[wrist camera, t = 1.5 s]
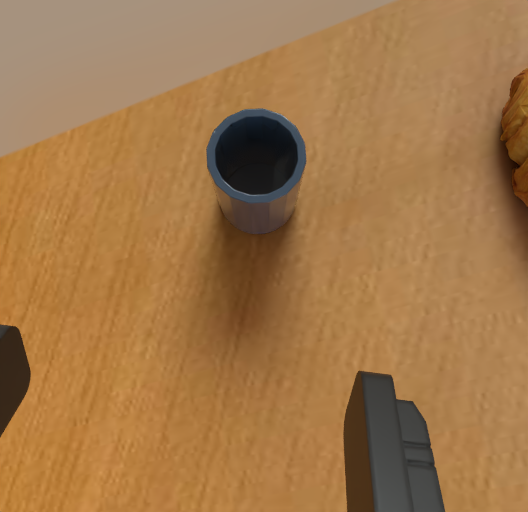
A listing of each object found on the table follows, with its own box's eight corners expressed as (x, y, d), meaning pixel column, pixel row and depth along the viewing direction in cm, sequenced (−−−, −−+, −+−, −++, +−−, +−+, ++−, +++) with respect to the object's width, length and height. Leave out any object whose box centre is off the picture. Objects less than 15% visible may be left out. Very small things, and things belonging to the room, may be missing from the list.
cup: (206, 179, 38) (190, 133, 29) (275, 147, 38) (279, 93, 30) (239, 247, 37) (232, 219, 28) (309, 214, 37) (323, 177, 29)
